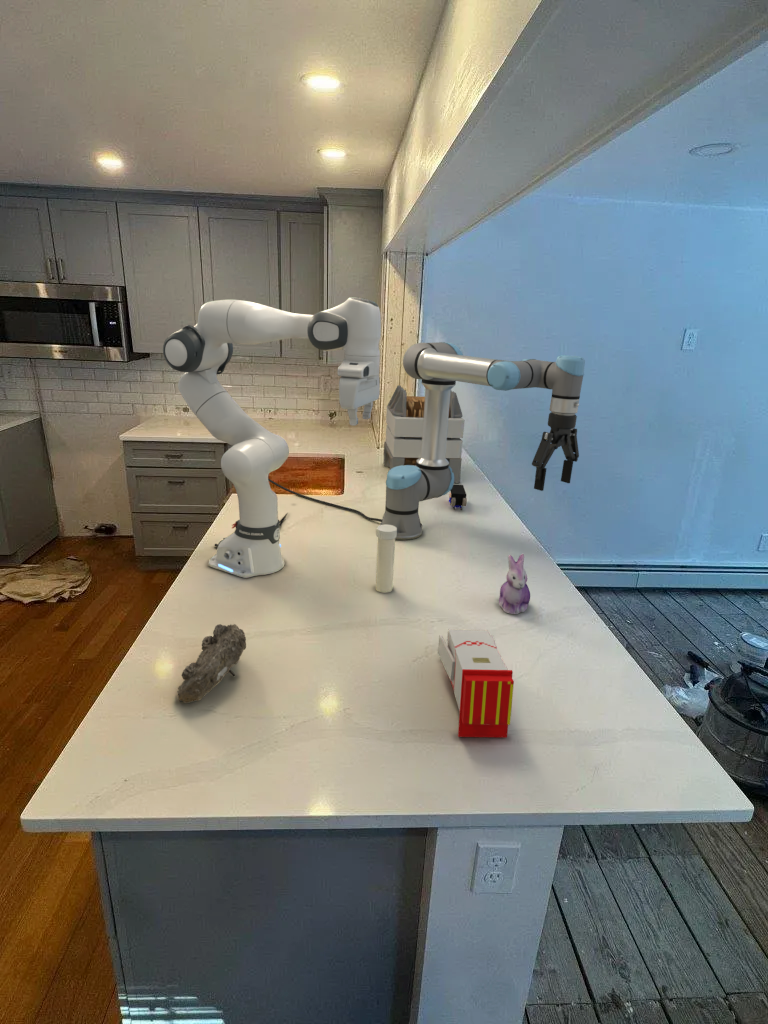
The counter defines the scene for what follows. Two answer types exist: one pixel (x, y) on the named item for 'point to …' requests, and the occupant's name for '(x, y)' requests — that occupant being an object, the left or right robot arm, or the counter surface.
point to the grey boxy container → (419, 431)
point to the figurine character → (457, 496)
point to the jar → (385, 565)
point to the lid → (386, 532)
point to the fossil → (212, 662)
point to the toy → (478, 682)
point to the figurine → (515, 588)
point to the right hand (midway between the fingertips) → (552, 485)
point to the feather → (282, 520)
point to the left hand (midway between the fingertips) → (360, 421)
